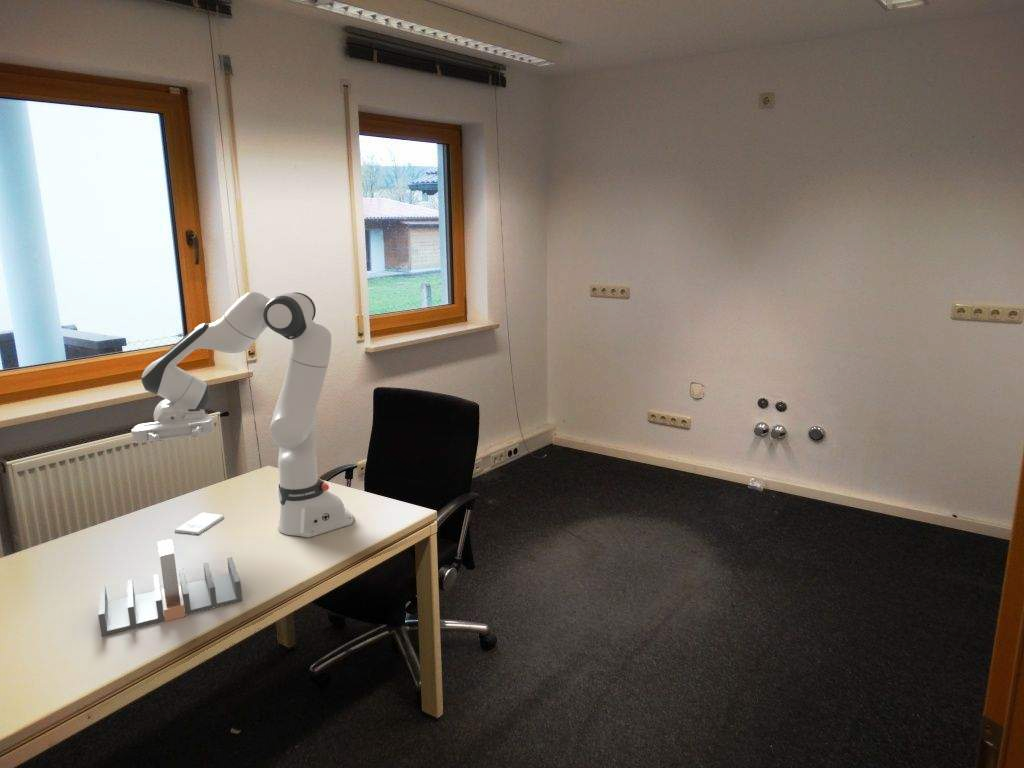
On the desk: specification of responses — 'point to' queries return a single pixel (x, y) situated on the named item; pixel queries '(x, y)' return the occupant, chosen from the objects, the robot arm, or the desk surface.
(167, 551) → the panel
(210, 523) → the external hard drive
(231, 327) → the robot arm
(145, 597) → the rack
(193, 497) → the desk surface
